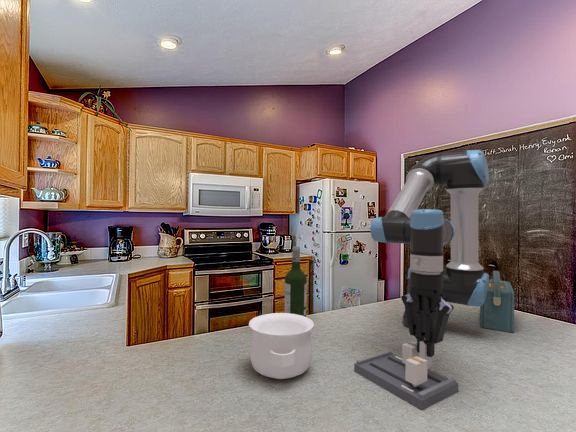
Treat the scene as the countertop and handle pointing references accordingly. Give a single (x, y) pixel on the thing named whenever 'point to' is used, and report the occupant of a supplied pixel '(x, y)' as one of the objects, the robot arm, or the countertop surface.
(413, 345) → the fader high
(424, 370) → the fader low
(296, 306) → the wine bottle
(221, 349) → the countertop surface
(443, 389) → the console
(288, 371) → the pot
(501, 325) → the teal lunch box
